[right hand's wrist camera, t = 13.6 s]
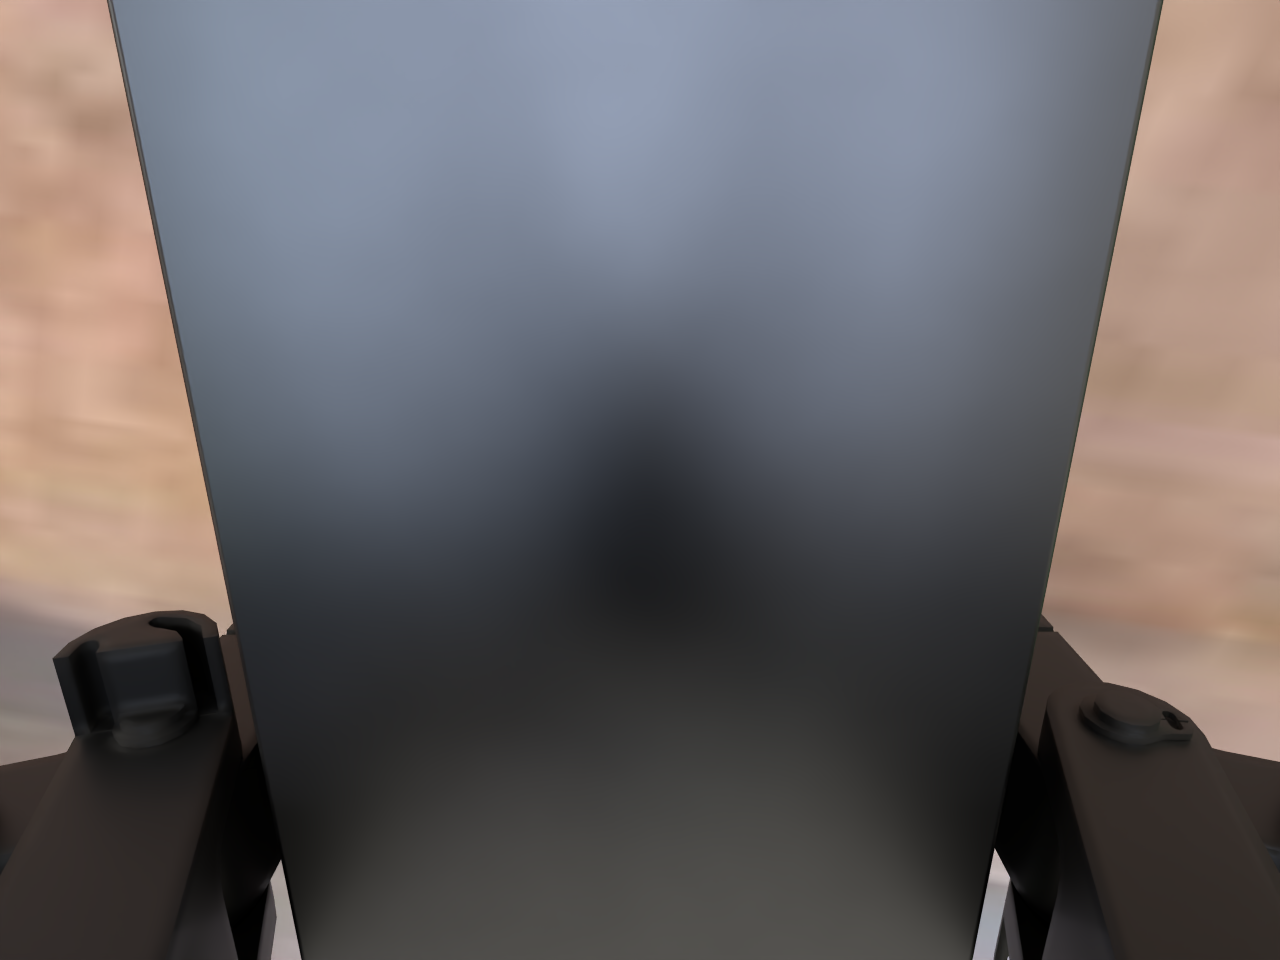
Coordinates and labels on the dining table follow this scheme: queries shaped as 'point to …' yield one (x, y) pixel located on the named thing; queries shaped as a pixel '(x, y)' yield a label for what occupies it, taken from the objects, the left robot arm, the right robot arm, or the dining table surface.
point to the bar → (636, 444)
